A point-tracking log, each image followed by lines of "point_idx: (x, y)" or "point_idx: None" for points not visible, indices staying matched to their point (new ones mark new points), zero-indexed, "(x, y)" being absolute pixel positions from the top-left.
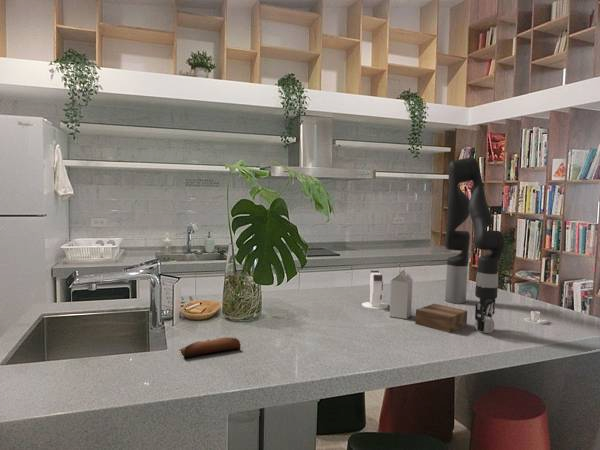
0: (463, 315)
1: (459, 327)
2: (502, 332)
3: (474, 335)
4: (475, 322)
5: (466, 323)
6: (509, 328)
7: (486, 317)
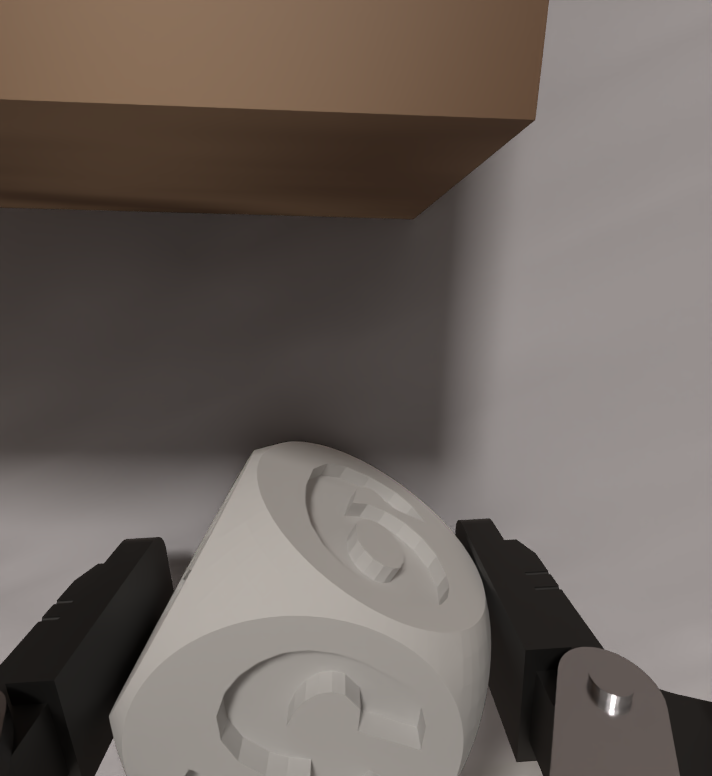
0: (187, 153)
1: (117, 207)
2: None
3: (4, 531)
4: (233, 491)
5: (409, 214)
6: (676, 685)
7: (364, 762)
